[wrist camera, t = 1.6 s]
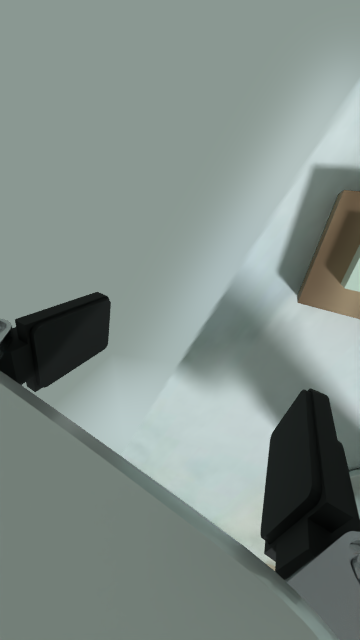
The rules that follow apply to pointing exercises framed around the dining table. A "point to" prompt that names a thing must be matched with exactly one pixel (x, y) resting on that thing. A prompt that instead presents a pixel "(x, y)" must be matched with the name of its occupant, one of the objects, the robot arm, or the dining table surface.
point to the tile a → (353, 274)
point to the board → (335, 260)
